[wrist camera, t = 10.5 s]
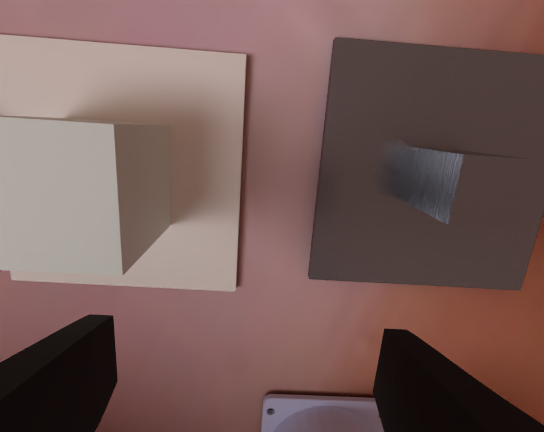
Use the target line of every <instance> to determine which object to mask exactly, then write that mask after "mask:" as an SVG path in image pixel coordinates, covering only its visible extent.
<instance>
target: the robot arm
mask: <svg viewBox="0 0 544 432" xmlns="http://www.w3.org/2000/svg"><path fill="white" fill-rule="evenodd" d="M116 383H117V366H116V351H115V335H114V320H113V316H110V315H87V316H85V317H83V318H81V319H79V320H77V321H75V322H73V323H71V324H69V325H68V326H66V327H64V328H62V329H60V330H58V331H57V332H55V333H53V334H51V335H49V336H48V337H46V338H44V339H42V340H40V341H39V342H37V343H35V344H33V345H31V346H30V347H28V348H26V349H24V350H22V351H20V352H19V353H17V354H15V355H13V356H11V357H10V358H8V359H6V360H4V361H2V362H0V432H95V430H96V428H97V426H98V424H99V423H100V421H101V418H102V416H103V414H104V412H105V409H106V407H107V405H108V403H109V400H110V398H111V395H112V393H113V391H114V388H115V386H116ZM373 394H374V397H375V398H364V397H338V396H313V395H287V394H268V395H266V396H265V397H264V399H263V409H262V422H261V432H544V425H543V424H541V423H540V422H538V421H536V420H535V419H533V418H532V417H530V416H529V415H527V414H526V413H524V412H523V411H521V410H520V409H518V408H517V407H515V406H514V405H512V404H511V403H509V402H508V401H506V400H505V399H503V398H502V397H501V396H499V395H498V394H496V393H495V392H493V391H492V390H490V389H489V388H488V387H486V386H485V385H483V384H482V383H481V382H479V381H478V380H476V379H475V378H474V377H472V376H471V375H469V374H468V373H467V372H465V371H464V370H463V369H461V368H460V367H458V366H457V365H456V364H454V363H453V362H452V361H450V360H449V359H448V358H446V357H445V356H443V355H442V354H441V353H439V352H438V351H437V350H435V349H434V348H433V347H431V346H430V345H428V344H427V343H426V342H424V341H423V340H421V339H420V338H419V337H417V336H416V335H414V334H413V333H411V332H409V331H408V330H402V329H384V333H383V339H382V344H381V350H380V355H379V361H378V366H377V372H376V377H375V382H374V388H373ZM269 408H272V410H269Z"/></svg>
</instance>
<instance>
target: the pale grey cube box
mask: <svg viewBox="0 0 544 432" xmlns="http://www.w3.org/2000/svg"><path fill="white" fill-rule="evenodd" d="M170 225H171V195H170V138H169V125H161V124H146V123H130V122H115V121H100V120H85V119H70V118H51V117H27V116H3V115H0V270H10V271H31V272H52V273H73V274H93V275H114V276H123V275H124V274H125V273H126V272H127V271H128V270H129V269H130V268H131V267H132V266H133V265H134V264H135V262H136V261H137V260H138V259H139V258H140V257H141V256H142V255H143V254H144V253H145V252H146V251H147V250H148V249H149V248H150V247H151V246H152V244H153V243H154V242H155V241H156V240H157V239H158V238H159V237H160V236H161V235H162V234H163V233H164V232H165V231H166V230H167V229H168V228H169V227H170Z"/></svg>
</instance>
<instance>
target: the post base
mask: <svg viewBox="0 0 544 432" xmlns="http://www.w3.org/2000/svg"><path fill="white" fill-rule="evenodd" d="M543 213H544V55H539V54H527V53H515V52H503V51H492V50H480V49H468V48H456V47H444V46H432V45H420V44H408V43H396V42H385V41H373V40H361V39H349V38H337V37H335V39H334V40H333V48H332V57H331V66H330V76H329V85H328V94H327V103H326V113H325V122H324V131H323V141H322V150H321V159H320V168H319V178H318V187H317V196H316V206H315V215H314V224H313V233H312V243H311V252H310V261H309V271H308V277H309V279H318V280H336V281H355V282H374V283H392V284H411V285H429V286H448V287H467V288H485V289H504V290H521V287H522V284H523V280H524V277H525V273H526V270H527V267H528V263H529V260H530V257H531V253H532V250H533V247H534V243H535V240H536V236H537V233H538V230H539V226H540V223H541V220H542V216H543Z"/></svg>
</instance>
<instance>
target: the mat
mask: <svg viewBox="0 0 544 432" xmlns="http://www.w3.org/2000/svg"><path fill="white" fill-rule="evenodd" d="M246 60H247V56H246V54H236V53H224V52H211V51H199V50H187V49H174V48H162V47H150V46H137V45H125V44H113V43H101V42H88V41H76V40H64V39H51V38H39V37H27V36H14V35H2V34H0V115H3V116H27V117H51V118H70V119H85V120H100V121H115V122H130V123H146V124H161V125H169V138H170V195H171V225H170V227H169V228H168V229H167V230H166V231H165V232H164V233H163V234H162V235H161V236H160V237H159V238H158V239H157V240H156V241H155V242H154V243H153V244H152V246H151V247H150V248H149V249H148V250H147V251H146V252H145V253H144V254H143V255H142V256H141V257H140V258H139V259H138V260H137V261H136V262H135V264H134V265H133V266H132V267H131V268H130V269H129V270H128V271H127V272H126V273H125V274H124V275H123V276H114V275H93V274H73V273H52V272H31V271H10V272H11V279H12V280H19V281H38V282H58V283H77V284H96V285H116V286H135V287H154V288H174V289H193V290H212V291H232V292H236V281H237V259H238V237H239V215H240V193H241V171H242V149H243V127H244V105H245V83H246Z"/></svg>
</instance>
